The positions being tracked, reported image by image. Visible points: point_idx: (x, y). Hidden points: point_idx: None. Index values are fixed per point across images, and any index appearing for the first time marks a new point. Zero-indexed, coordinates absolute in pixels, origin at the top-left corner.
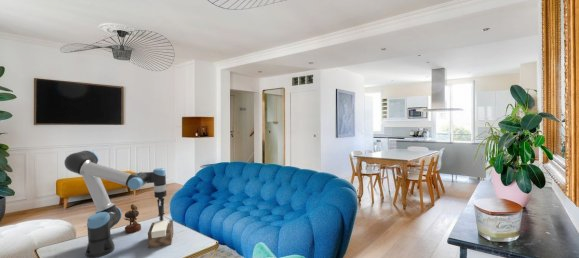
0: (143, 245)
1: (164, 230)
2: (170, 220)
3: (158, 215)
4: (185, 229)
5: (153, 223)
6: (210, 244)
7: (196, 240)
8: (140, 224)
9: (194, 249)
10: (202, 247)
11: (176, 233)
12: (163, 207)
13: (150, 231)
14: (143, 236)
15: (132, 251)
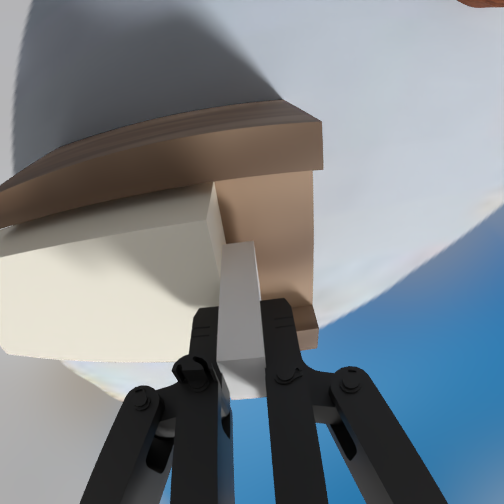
0: (102, 83)
1: (5, 347)
2: (310, 334)
3: (175, 372)
4: (336, 311)
5: (270, 154)
6: (123, 397)
7: (158, 369)
8: (498, 4)
9: (77, 362)
10: (97, 380)
11: None
12: (359, 486)
13: (2, 216)
14: (313, 16)
15: (28, 57)
